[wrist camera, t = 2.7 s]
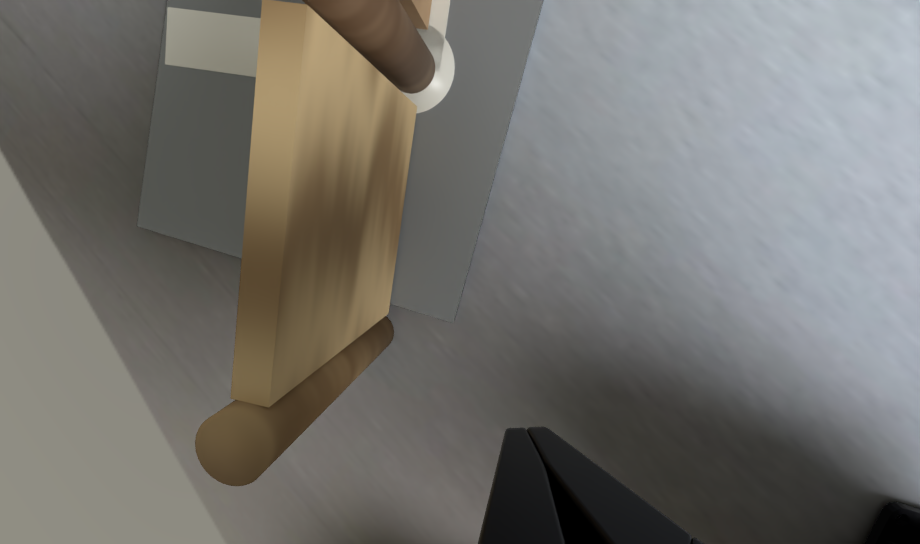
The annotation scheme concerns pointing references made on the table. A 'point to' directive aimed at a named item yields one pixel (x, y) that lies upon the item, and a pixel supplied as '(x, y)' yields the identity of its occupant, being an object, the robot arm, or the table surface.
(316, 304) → the swing panel
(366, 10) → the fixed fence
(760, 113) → the table surface
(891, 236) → the table surface
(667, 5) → the table surface
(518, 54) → the card
